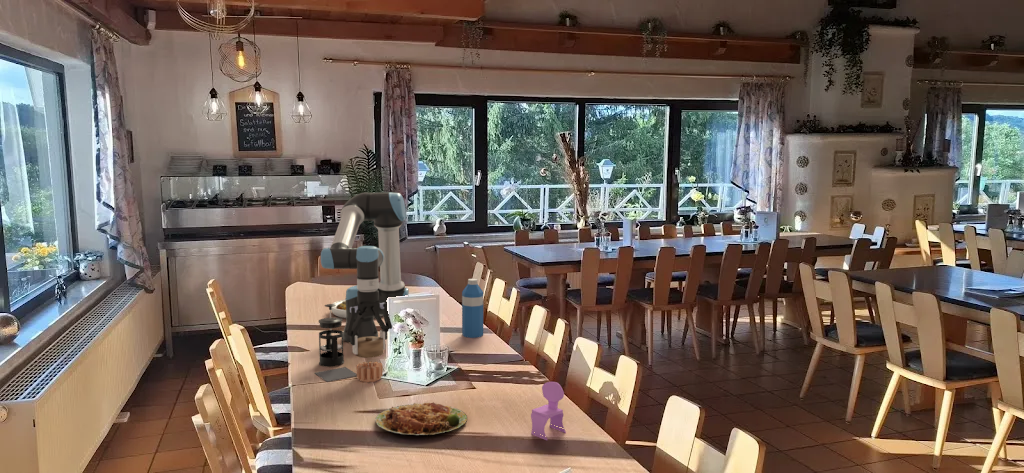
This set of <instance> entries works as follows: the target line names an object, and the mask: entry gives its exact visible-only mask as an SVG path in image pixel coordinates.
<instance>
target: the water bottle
mask: <svg viewBox="0 0 1024 473" xmlns="http://www.w3.org/2000/svg"><path fill="white" fill-rule="evenodd" d="M461 333H462V334H461V335H462V336H463V337H464V338H471V339H476V338H481V337H483V336H484V291H483V289H481V286H479V284H478V278H468V279H467V284H466V286H465V287H464V289H463V290H462V291H461Z"/></svg>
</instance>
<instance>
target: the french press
mask: <svg viewBox="0 0 1024 473" xmlns="http://www.w3.org/2000/svg"><path fill="white" fill-rule="evenodd" d="M334 306H336V305H335V304H332V303H328V304H327V303H326V304H325V305H324V307H326V308H328V309H329V317H325V318H321V319H318V323H319V327H320V328H322V329H326V330H322V331H319V332H318V350H319V354H318V355H319V362H318V364H319V365H320V366H322V367H324V368H325V367H327V368H328V367H330V368H331V367H332V368H333V367H339V366H342V365H343V364H344V363H345V360H344V340H343V331H344V330H343V331H342V330H340V329H335V328H340V327H342V324H343V319H344V318H341V317H332V311H331V310H332V307H334ZM333 334H334V335H333ZM340 338H341V344H340V343H338V339H340ZM321 339H323V340H325V341H326V343H325V344H323V345H321V342H322V341H321Z"/></svg>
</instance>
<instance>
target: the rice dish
mask: <svg viewBox="0 0 1024 473" xmlns="http://www.w3.org/2000/svg"><path fill="white" fill-rule="evenodd" d="M467 420H468V415H467V414H466V412H464V411H463V410H461V409H458V408H455V407H452V406H448V405H444V404H441V403H436V402H423V403H417V402H414V403H413V404H405V405H398V406H394V407H393V406H391V407H390V408H387V409H385V410H383V411H382V412H380V413H378V415H376V417H375V422H376V425H377V426H378V427H379V428H380V429H382V430H384V431H387V432H391V433H394V434H400V435H413V436H428V435H429V436H434V435H439V434H443V433H445V432H450V431H454V430H456V429H459V428H461V426H463V425H465V424H466V423H467Z"/></svg>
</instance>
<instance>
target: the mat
mask: <svg viewBox="0 0 1024 473" xmlns="http://www.w3.org/2000/svg"><path fill="white" fill-rule="evenodd" d="M314 374H315V375H316V376H318V377H319V378H321V379H322V380H324V382H326V383H330V382H335V381H340V380H346V379H350V378H357V372H355V371H353V370H351V369H349V368H348V367H346V366H343V367H337V368H332V369H327V370H322V371H321V370H320V371H316V372H314Z"/></svg>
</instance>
